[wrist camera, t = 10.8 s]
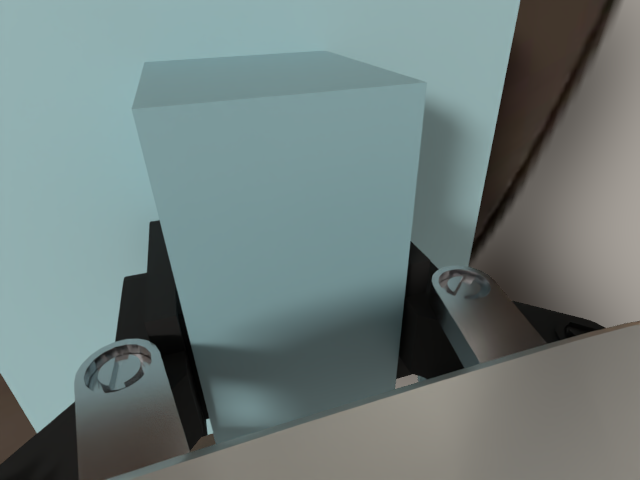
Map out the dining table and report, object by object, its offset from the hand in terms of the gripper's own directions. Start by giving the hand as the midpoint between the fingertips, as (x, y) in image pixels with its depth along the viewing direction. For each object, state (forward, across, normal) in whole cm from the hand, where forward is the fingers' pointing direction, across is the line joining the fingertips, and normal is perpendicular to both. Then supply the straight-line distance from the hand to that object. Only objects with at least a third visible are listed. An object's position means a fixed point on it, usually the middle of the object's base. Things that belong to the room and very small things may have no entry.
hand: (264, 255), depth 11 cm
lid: (+3, 0, 0) cm, 3 cm away
